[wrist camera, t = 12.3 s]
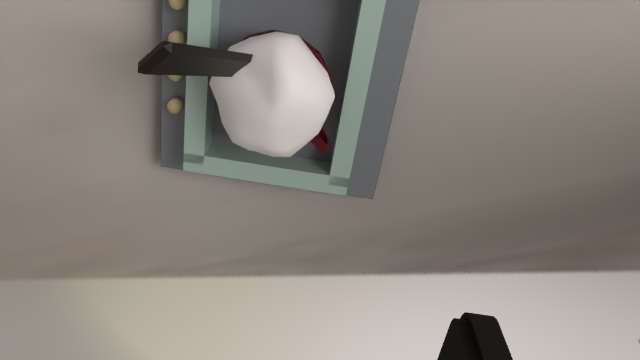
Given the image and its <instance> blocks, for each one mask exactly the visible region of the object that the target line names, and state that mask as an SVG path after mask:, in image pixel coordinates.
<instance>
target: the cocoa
mask: <svg viewBox="0 0 640 360" xmlns="http://www.w3.org/2000/svg"><path fill="white" fill-rule="evenodd" d="M138 73H142V74H152V75H182V76H212V77H211V80H210V83H209V84H210V87H211V89H212V92H213V94H214V97H215V99H216V102H217V107H218V109H219V113H220V117H221V121H222V124H223V126H224V128H225V130H226V132H227V133H228V135H229V137H230V139H231V141H232V142H233V143H235V144H237V145H239V146H241V147H243V148H245V149H247V150H249V151H256V152H259V153H262V154H265V155H268V156H271V157H291V156H292V155H293V154H295V153H296V152H297V151H298V150H300V149H301V148H302V147H303V146H305V145H306V144H307V143H308V142H309V141H311V142H312V144H313V145H314V146H315V147H316V148H317V149H318V150H319V151H320V152H322V153H325V152H327V151H328V150H329V149H330V148H331V144H330V142H329V139H328V137H327V135H326V133H325V131H324V129H323V128H322V126H323V124H324V122H325V120H326V118H327V116H328V114H329V112H330V110H331V108H332V103H333V101H334V98H335V94H334V90H333V87H332V76H331V74H330V72H329V70H328V68H327V66H326V64H325V61H324V59H323V57H322V55H321V53H320V52H319V51H318V50H317V49H315V48H314V47H313V46H312V45H310V44H309V43H308V42H307V41H305V40H304V39H303V38H302V37H300V36H299V35H295V34H290V33H286V32H282V31H277V30H269V31H265V32H260V33H256V34H252V35H248V36H246V37H245V38H244V39H243V40H241V41H240V42H239V43H237V44H235V45H232V46H230V47H229V49H228V50H221V49H214V48H208V47H201V46H195V45H188V44H181V43H175V42H168V41H162V42H161V43H160V44H159V45H158V46H157V47H155V48H154V49H153V50H152V51H151V52H150V53H149V54H147V55H146V56H145V57H144V58H143V59H142V60H141V61H139V63H138Z"/></svg>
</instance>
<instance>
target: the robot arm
mask: <svg viewBox="0 0 640 360" xmlns="http://www.w3.org/2000/svg"><path fill="white" fill-rule="evenodd" d="M438 360H513V359H512V357H511V354H510V352H509V349H508V346H507V344H506V341H505V339H504V336H503V334H502V331H501V328H500V326H499V323H498V321H497V319H496V318H495V317H493V316H487V315H480V314H473V313H464V314H463V315H462V316H461V318H460V319H456V318H454V319H453V320H452V321H451V324H450V326H449V329H448V332H447V335H446V337H445V340H444V343H443V346H442V348H441V351H440V354H439V357H438Z"/></svg>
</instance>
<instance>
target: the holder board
mask: <svg viewBox="0 0 640 360" xmlns="http://www.w3.org/2000/svg"><path fill="white" fill-rule="evenodd" d="M418 5H419V0H162V41H168V42H175V43H181V44H188V45H195V46H201V47H208V48H214V49H221V50H228V49H229V47H230V46H232V45H235V44H237V43H239V42H240V41H241V40H243V39H244V38H245V37H246V36H248V35H252V34H256V33H260V32H265V31H269V30H277V31H282V32H286V33H290V34H295V35H299V36H300V37H302V38H303V39H304V40H305V41H307V42H308V43H309V44H310V45H312V46H313V47H314V48H315V49H317V50H318V51H319V52H320V53H321V55H322V57H323V59H324V61H325V64H326V66H327V68H328V70H329V72H330V74H331V76H332V87H333V90H334V94H335V98H334V101H333V103H332V108H331V110H330V112H329V114H328V116H327V118H326V120H325V122H324V124H323V126H322V128H323V129H324V131H325V133H326V135H327V137H328V139H329V142H330V144H331V148H330V149H329V150H328V151H327V152H325V153H322V152H320V151H319V150H318V149H317V148H316V147H315V146H314V145H313V144H312V142H311V141H309V142H308V143H307V144H306V145H305V146H303V147H302V148H301V149H300V150H298V151H297V152H296V153H295V154H293V155H292V156H291V157H271V156H268V155H265V154H262V153H259V152H256V151H249V150H247V149H245V148H243V147H241V146H239V145H237V144H235V143H233V142H232V141H231V139H230V137H229V135H228V133H227V132H226V130H225V128H224V126H223V124H222V121H221V117H220V113H219V109H218V107H217V102H216V99H215V97H214V94H213V92H212V89H211V87H210V84H209V83H210V80H211V77H212V76H182V75H162V91H161V166H163V167H169V168H175V169H182V170H183V171H188V172H195V173H201V174H207V175H214V176H220V177H227V178H233V179H240V180H246V181H252V182H259V183H265V184H272V185H278V186H285V187H291V188H297V189H304V190H310V191H317V192H323V193H330V194H336V195H342V196H346V195H349V196H355V197H362V198H368V199H373V196H374V192H375V187H376V183H377V179H378V175H379V170H380V166H381V162H382V158H383V153H384V149H385V145H386V141H387V136H388V132H389V128H390V124H391V119H392V115H393V111H394V107H395V102H396V98H397V94H398V90H399V85H400V81H401V77H402V73H403V68H404V64H405V60H406V56H407V51H408V47H409V43H410V39H411V34H412V30H413V26H414V22H415V17H416V13H417V9H418Z"/></svg>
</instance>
